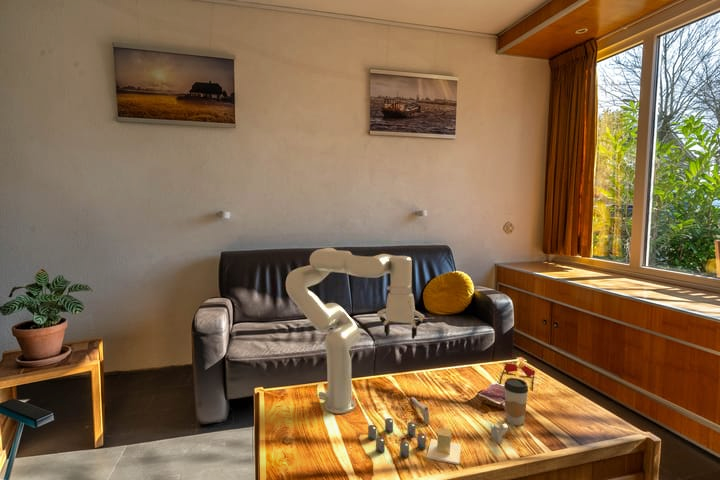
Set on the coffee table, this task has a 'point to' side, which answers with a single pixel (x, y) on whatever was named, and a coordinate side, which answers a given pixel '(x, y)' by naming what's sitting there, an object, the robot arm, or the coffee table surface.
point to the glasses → (525, 369)
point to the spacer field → (403, 445)
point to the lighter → (498, 432)
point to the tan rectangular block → (444, 441)
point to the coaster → (451, 458)
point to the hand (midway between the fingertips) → (400, 336)
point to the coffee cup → (515, 400)
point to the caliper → (422, 410)
